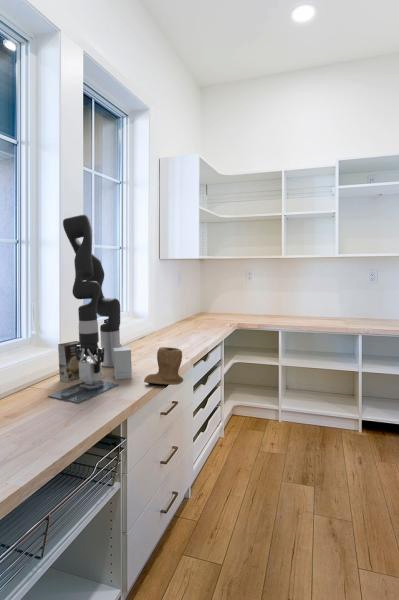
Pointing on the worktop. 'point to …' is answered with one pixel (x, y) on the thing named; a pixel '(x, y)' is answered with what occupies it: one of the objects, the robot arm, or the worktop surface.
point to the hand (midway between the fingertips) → (90, 371)
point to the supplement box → (122, 363)
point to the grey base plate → (83, 391)
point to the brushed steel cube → (88, 370)
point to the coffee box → (68, 362)
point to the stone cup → (167, 367)
